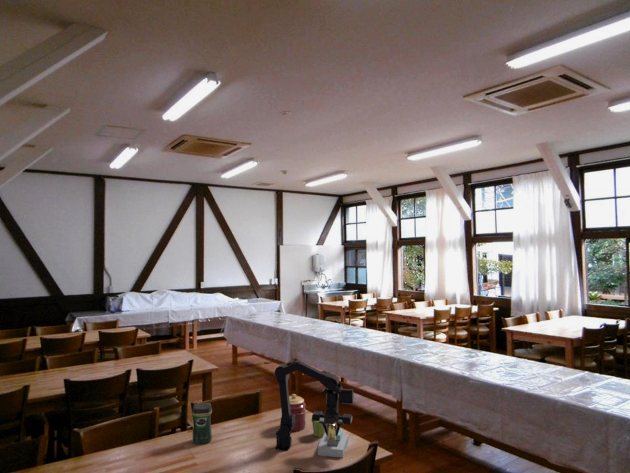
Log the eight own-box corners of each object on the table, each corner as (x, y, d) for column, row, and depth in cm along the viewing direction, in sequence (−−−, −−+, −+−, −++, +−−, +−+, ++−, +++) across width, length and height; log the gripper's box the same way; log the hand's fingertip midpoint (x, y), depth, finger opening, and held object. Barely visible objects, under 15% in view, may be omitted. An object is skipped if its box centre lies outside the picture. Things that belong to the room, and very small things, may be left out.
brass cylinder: (326, 440, 205) (326, 425, 205) (328, 436, 209) (328, 421, 209) (335, 441, 204) (335, 426, 204) (337, 437, 208) (337, 422, 208)
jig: (317, 454, 203) (317, 447, 203) (325, 439, 219) (325, 432, 219) (342, 457, 200) (342, 450, 200) (348, 442, 216) (348, 434, 216)
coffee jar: (212, 437, 222) (212, 400, 223) (211, 444, 214) (211, 406, 215) (193, 438, 220) (193, 401, 221) (190, 445, 213) (191, 407, 213)
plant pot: (313, 439, 219) (313, 422, 219) (308, 432, 228) (308, 415, 228) (330, 437, 222) (330, 420, 222) (325, 430, 231) (325, 413, 231)
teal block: (327, 439, 211) (327, 434, 211) (330, 433, 218) (330, 428, 218) (340, 440, 209) (340, 435, 209) (342, 434, 216) (342, 429, 216)
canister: (279, 423, 240) (279, 391, 240) (301, 421, 243) (302, 389, 244) (284, 433, 227) (285, 399, 228) (308, 430, 231) (308, 396, 232)
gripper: (309, 406, 201) (309, 440, 201) (348, 410, 197) (348, 445, 196) (314, 398, 212) (314, 431, 211) (352, 402, 208) (352, 435, 207)
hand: (332, 435), depth 206 cm, fingers closed on brass cylinder, 4 cm apart
